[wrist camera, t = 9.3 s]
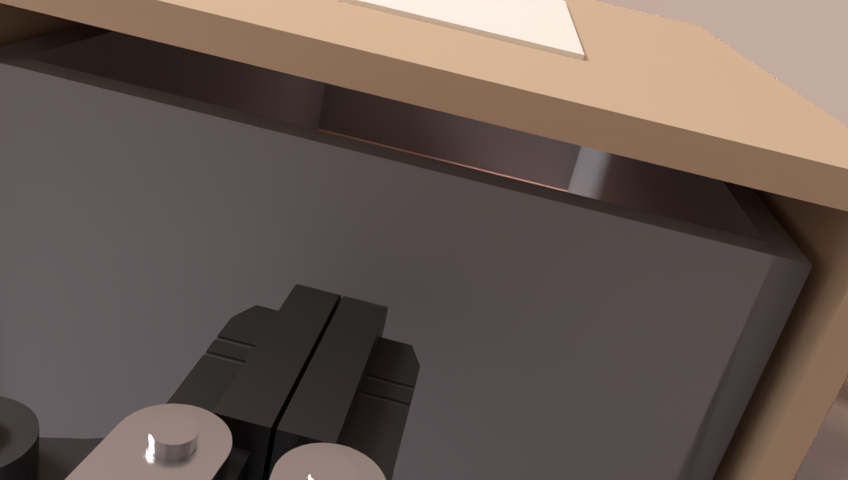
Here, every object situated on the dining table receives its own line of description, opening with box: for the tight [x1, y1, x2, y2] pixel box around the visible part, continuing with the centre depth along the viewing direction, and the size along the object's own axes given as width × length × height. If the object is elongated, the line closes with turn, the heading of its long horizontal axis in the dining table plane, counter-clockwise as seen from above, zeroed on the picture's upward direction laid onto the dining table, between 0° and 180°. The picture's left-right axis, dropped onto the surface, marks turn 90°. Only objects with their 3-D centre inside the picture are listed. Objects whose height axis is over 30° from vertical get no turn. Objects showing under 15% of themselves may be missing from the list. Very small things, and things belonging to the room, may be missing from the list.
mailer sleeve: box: [0, 0, 848, 480], centre depth 22 cm, size 18×16×11 cm
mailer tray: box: [0, 24, 813, 480], centre depth 26 cm, size 26×14×8 cm, turn 172°
